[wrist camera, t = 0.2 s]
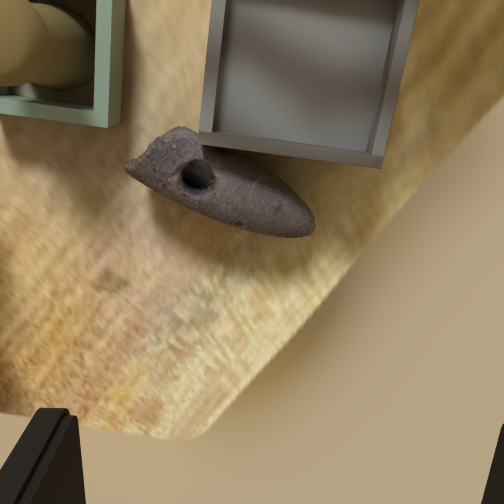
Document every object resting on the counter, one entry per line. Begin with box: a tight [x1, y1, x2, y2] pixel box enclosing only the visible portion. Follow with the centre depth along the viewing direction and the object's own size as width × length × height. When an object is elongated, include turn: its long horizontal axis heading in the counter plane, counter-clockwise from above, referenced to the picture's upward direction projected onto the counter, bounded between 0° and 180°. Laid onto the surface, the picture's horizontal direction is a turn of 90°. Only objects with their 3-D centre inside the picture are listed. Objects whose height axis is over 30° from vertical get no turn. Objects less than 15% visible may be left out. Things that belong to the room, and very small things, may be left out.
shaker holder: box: [0, 0, 126, 128], centre depth 34 cm, size 10×10×4 cm
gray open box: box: [198, 0, 419, 169], centre depth 33 cm, size 11×12×8 cm
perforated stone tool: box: [124, 126, 315, 238], centre depth 36 cm, size 15×5×7 cm, turn 62°
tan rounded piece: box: [0, 0, 96, 91], centre depth 30 cm, size 6×6×11 cm
